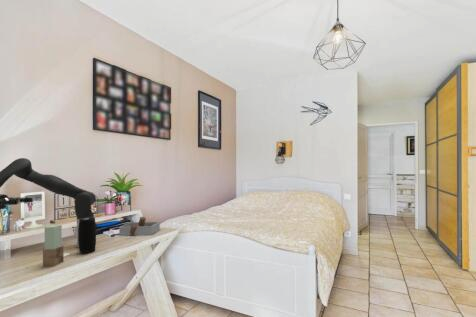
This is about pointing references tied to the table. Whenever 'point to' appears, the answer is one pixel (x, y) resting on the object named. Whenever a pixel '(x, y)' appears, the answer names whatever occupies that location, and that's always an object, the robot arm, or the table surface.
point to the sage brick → (53, 237)
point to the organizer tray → (140, 228)
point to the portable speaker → (87, 234)
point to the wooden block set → (141, 223)
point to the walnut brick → (53, 257)
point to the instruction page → (64, 254)
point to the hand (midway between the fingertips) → (24, 201)
